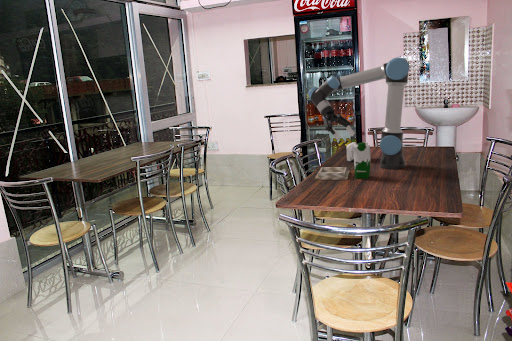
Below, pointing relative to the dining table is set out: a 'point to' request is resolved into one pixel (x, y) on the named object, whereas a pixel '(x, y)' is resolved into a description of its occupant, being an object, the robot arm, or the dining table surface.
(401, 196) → the dining table surface
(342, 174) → the tray
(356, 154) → the milk carton
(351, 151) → the cable organizer
